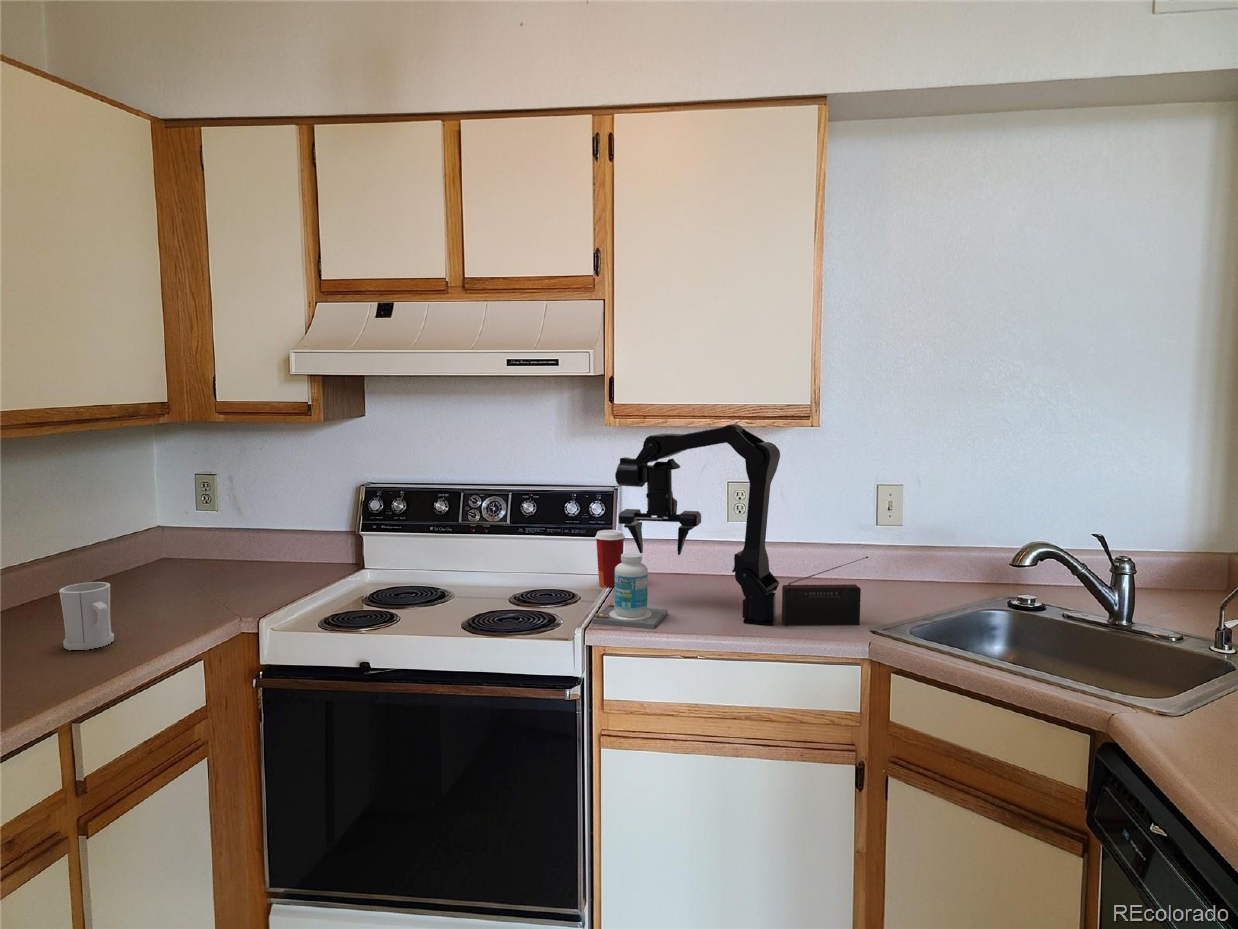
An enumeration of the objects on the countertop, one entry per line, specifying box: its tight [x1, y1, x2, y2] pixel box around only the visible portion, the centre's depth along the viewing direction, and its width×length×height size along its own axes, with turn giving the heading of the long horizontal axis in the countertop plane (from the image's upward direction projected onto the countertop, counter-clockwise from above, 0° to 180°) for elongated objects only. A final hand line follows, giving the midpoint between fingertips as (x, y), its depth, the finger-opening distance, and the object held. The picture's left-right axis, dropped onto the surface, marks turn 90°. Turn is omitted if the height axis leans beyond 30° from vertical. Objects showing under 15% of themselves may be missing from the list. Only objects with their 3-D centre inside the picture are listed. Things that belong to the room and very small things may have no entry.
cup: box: [58, 581, 115, 651], centre depth 174 cm, size 10×9×12 cm
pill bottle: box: [613, 552, 649, 617], centre depth 192 cm, size 8×7×14 cm
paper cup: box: [594, 529, 626, 589], centre depth 222 cm, size 8×8×14 cm
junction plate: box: [591, 602, 668, 630], centre depth 193 cm, size 14×12×2 cm
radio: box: [781, 556, 869, 627], centre depth 187 cm, size 19×3×15 cm, turn 91°
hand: (660, 553), depth 201 cm, fingers open, 9 cm apart
